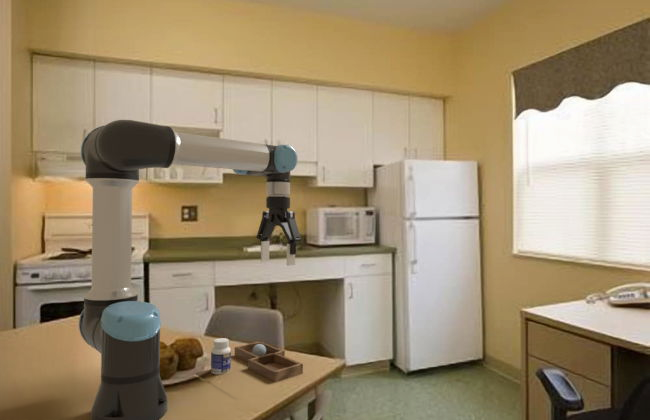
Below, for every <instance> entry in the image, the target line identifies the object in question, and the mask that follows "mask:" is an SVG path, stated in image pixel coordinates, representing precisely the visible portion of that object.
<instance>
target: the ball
mask: <svg viewBox="0 0 650 420" xmlns="http://www.w3.org/2000/svg"><path fill="white" fill-rule="evenodd" d="M265 353H266V348H265V346H264V345H262V344H257V345H255V346H254V348H253V354H255V355H257V356H259V357H260V356H264V355H265Z"/></svg>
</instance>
